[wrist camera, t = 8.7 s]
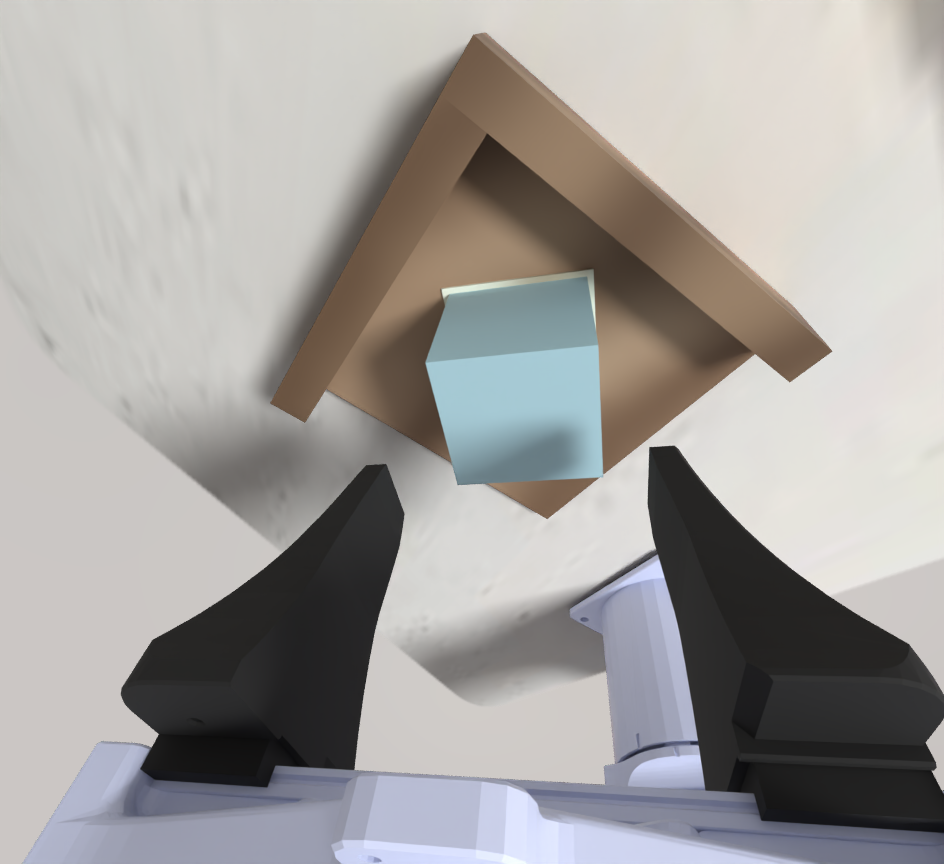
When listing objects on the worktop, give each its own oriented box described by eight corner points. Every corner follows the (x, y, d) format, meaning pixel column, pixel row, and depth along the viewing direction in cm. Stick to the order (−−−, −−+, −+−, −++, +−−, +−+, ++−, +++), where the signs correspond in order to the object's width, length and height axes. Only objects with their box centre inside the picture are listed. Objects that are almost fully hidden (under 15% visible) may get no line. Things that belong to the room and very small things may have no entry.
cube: (586, 276, 18) (598, 344, 14) (592, 393, 21) (603, 477, 17) (449, 293, 19) (425, 362, 15) (472, 403, 22) (457, 484, 18)
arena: (793, 306, 19) (832, 351, 17) (547, 507, 27) (547, 558, 24) (485, 32, 15) (473, 34, 13) (301, 360, 23) (270, 403, 20)
